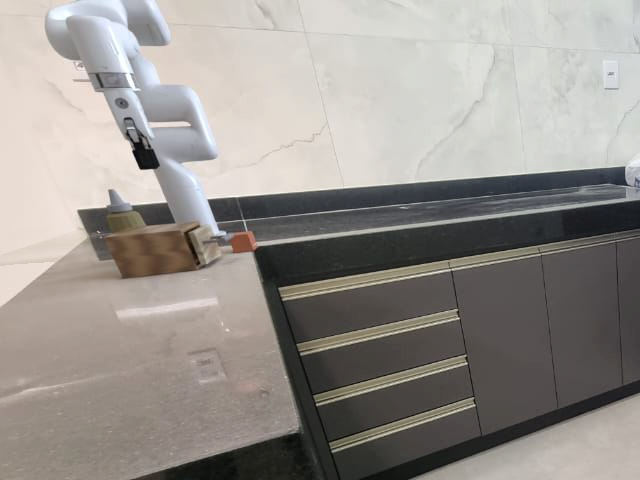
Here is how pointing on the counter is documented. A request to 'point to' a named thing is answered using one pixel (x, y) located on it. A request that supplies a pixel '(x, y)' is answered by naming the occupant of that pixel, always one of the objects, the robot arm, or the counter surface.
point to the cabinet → (152, 249)
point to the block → (243, 242)
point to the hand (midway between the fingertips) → (150, 168)
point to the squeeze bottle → (121, 214)
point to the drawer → (205, 243)
